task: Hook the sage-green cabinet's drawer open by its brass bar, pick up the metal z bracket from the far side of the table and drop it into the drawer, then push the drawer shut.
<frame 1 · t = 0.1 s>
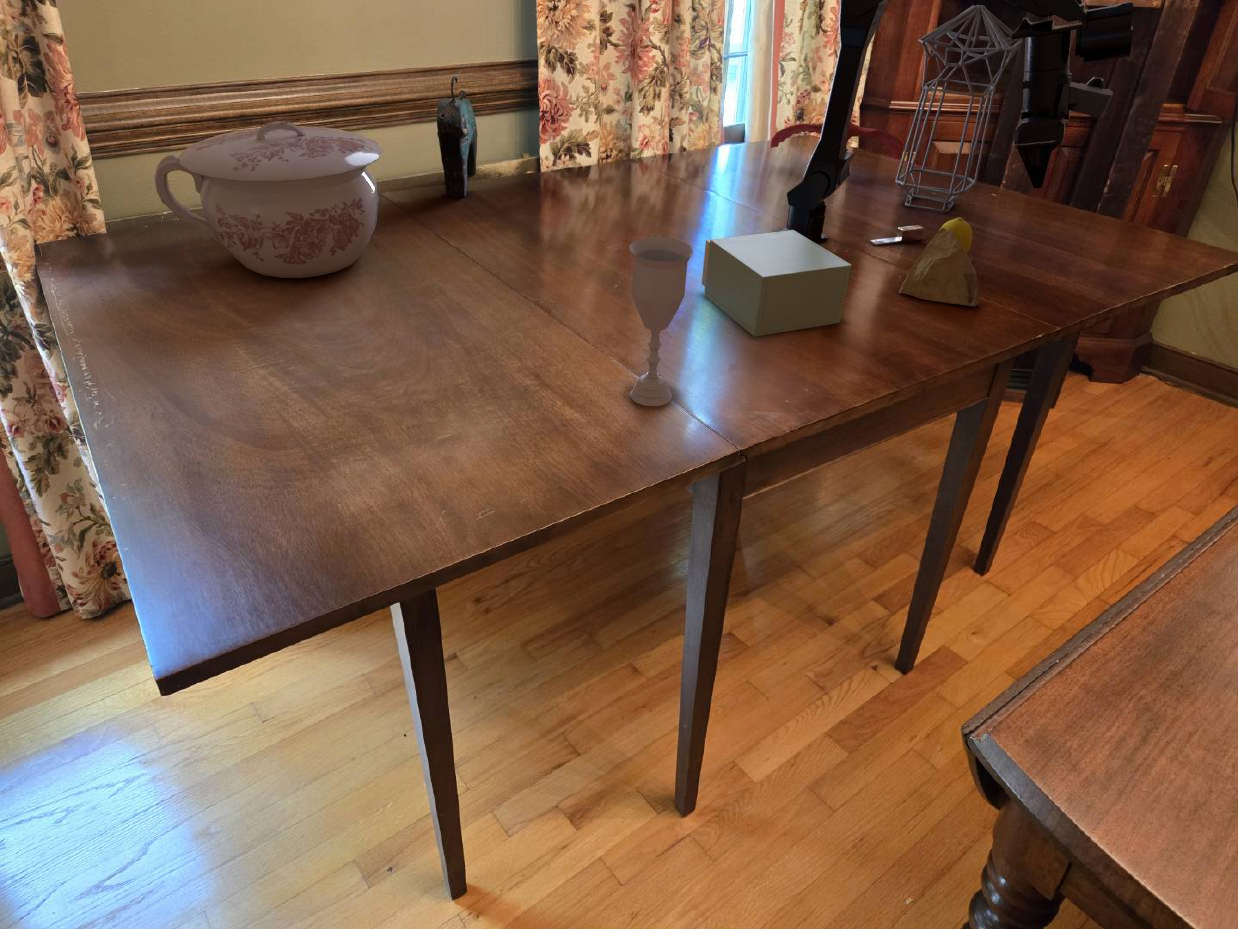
hand: (1040, 180, 125), 15 cm above the table, tool pointing down, fingers open, 9 cm apart
chamber pot: (303, 263, 128), on the table
geometric lantern: (928, 206, 164), on the table
rock: (939, 300, 125), on the table
metal z bracket: (895, 241, 146), on the table
decorative bird sculpture: (831, 167, 185), on the table
cabinet: (770, 308, 120), on the table
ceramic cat: (460, 185, 163), on the table
lemon: (946, 265, 137), on the table
chalice: (650, 396, 98), on the table
drawer: (756, 267, 121), point 4 cm above the table, slide at 1.0 cm
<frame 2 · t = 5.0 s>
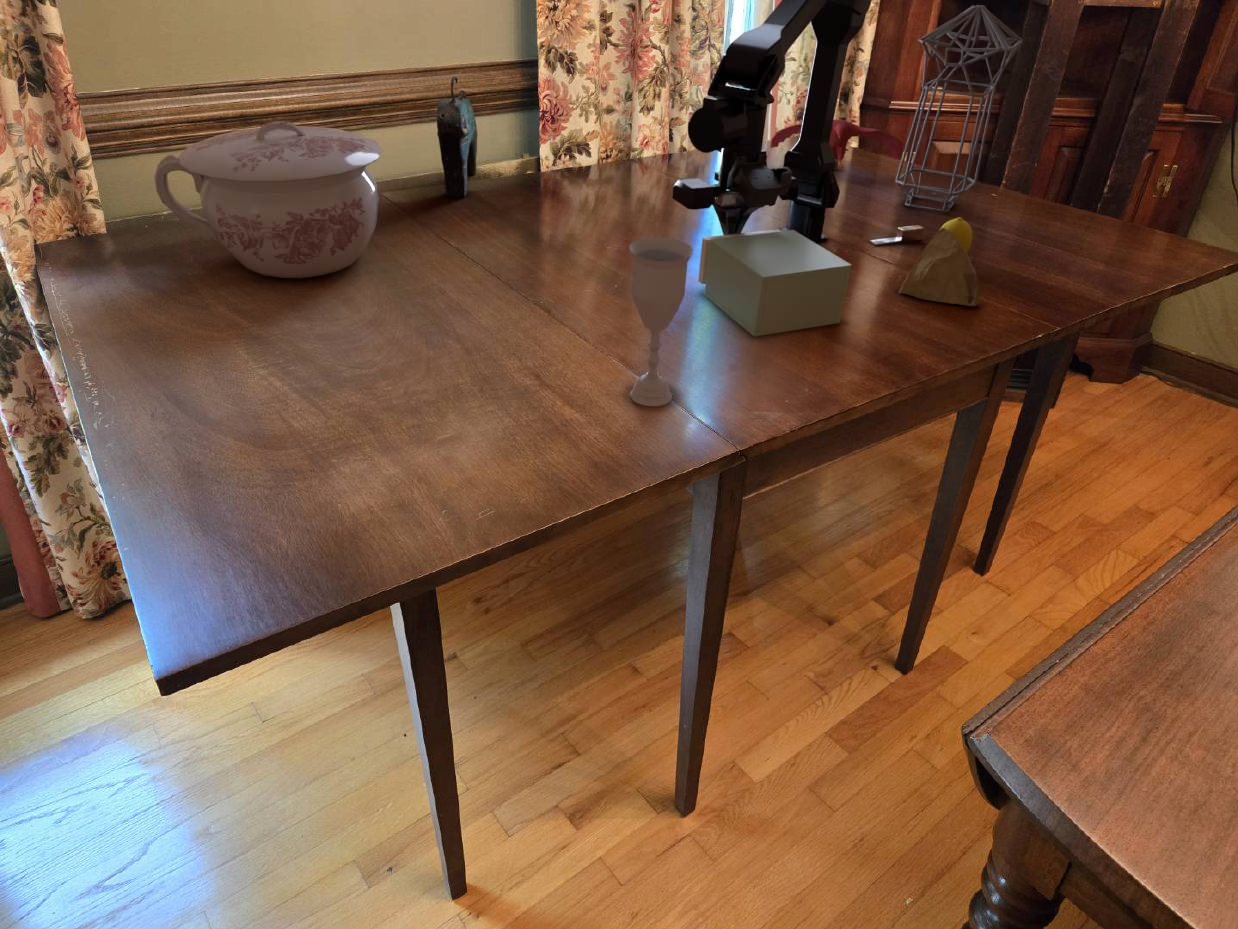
hand: (730, 245, 127), 5 cm above the table, tool pointing down, fingers closed, pressing on drawer
drawer: (752, 265, 122), point 4 cm above the table, slide at 2.1 cm, touching gripper
everything else where it was.
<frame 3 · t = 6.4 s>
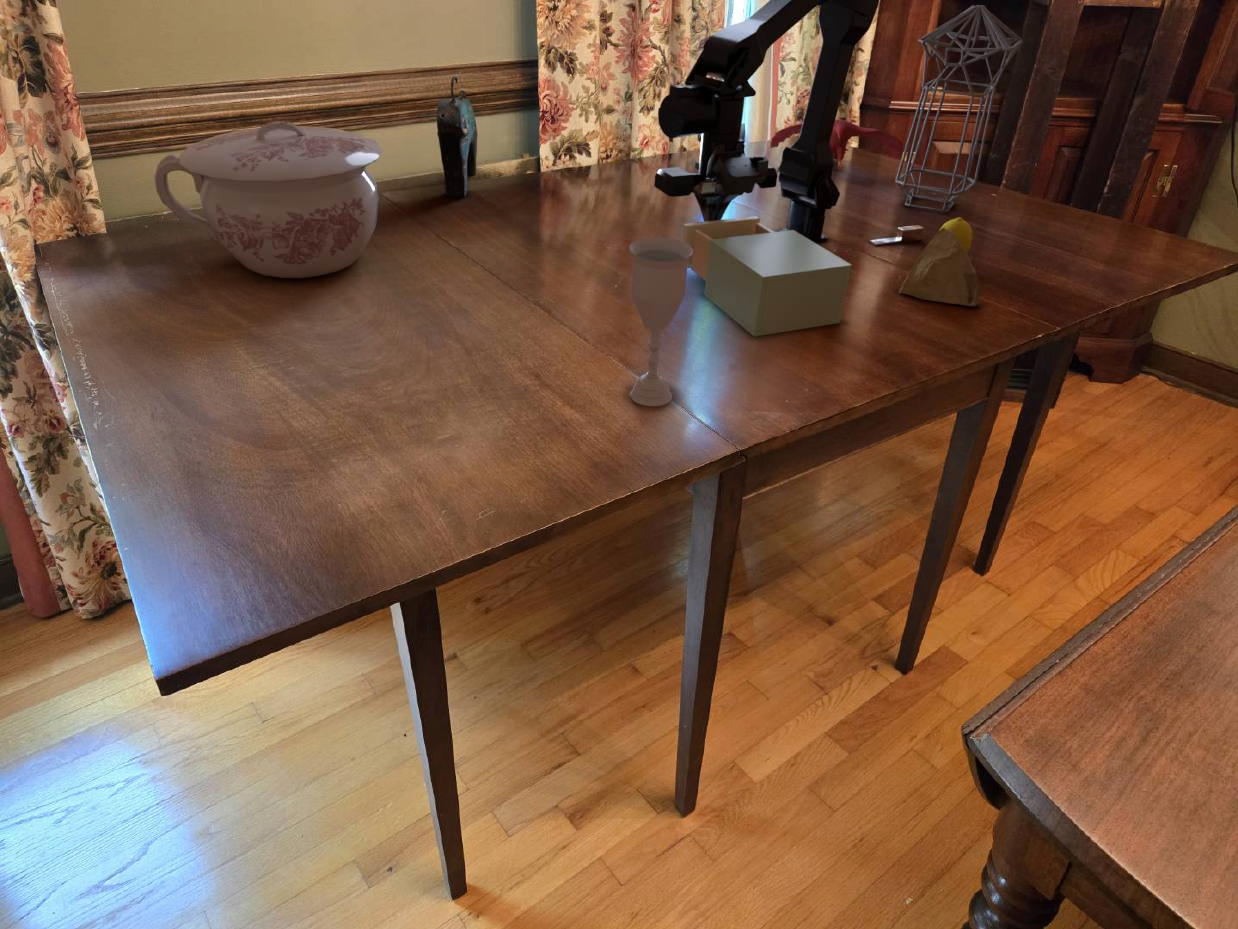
hand: (710, 232, 132), 5 cm above the table, tool pointing down, fingers closed, pressing on drawer
drawer: (731, 250, 127), point 4 cm above the table, slide at 8.3 cm, touching gripper
everything else where it was.
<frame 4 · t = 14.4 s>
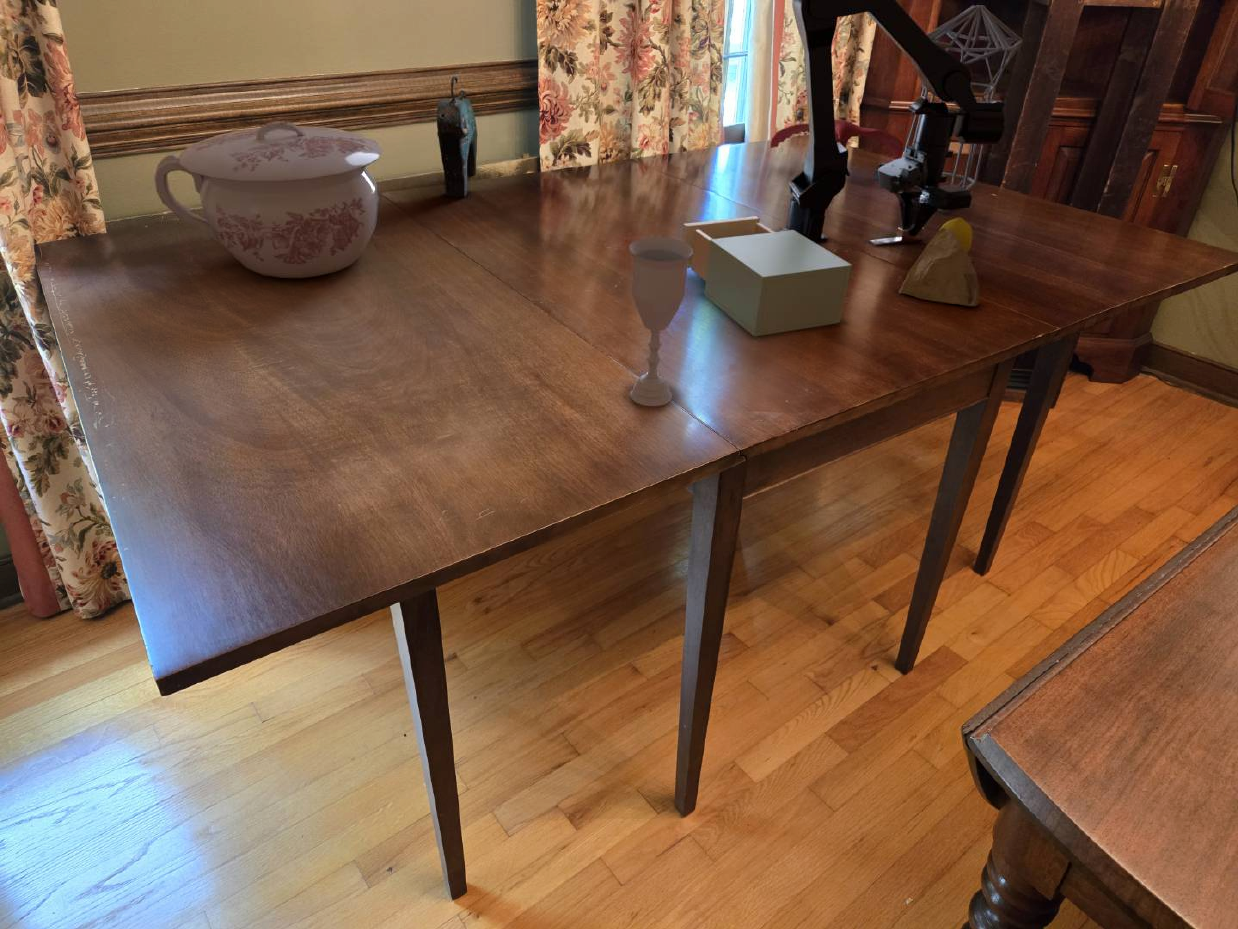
hand: (909, 233, 146), 1 cm above the table, tool pointing down, fingers closed on metal z bracket, 2 cm apart
metal z bracket: (895, 241, 146), on the table, touching gripper
drawer: (731, 250, 127), point 4 cm above the table, slide at 8.4 cm
everything else where it was.
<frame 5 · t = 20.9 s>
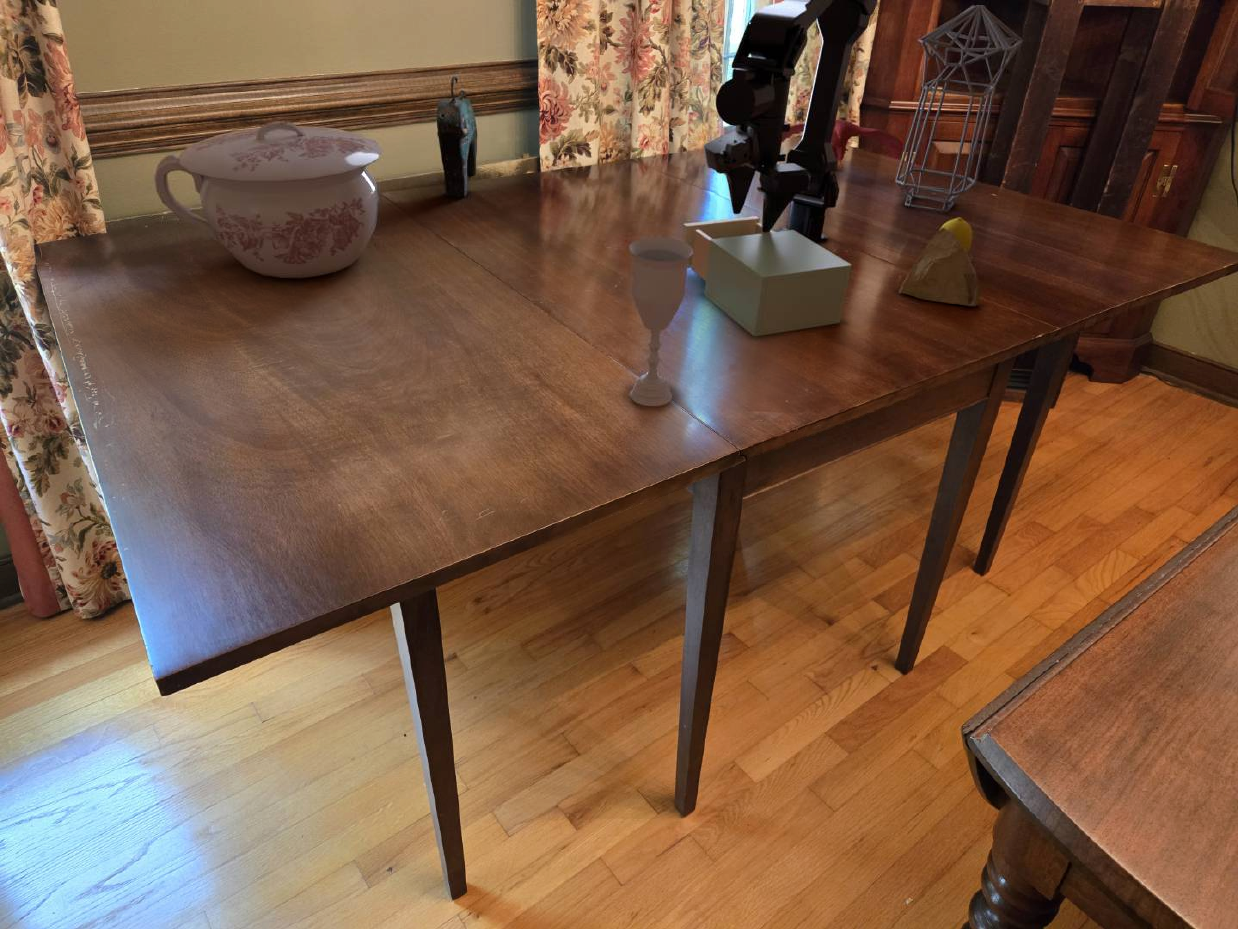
hand: (750, 222, 125), 8 cm above the table, tool pointing down, fingers open, 8 cm apart
metal z bracket: (731, 259, 127), point 3 cm above the table, tilted 10°, touching drawer
drawer: (731, 250, 127), point 4 cm above the table, slide at 8.4 cm, touching metal z bracket
everything else where it was.
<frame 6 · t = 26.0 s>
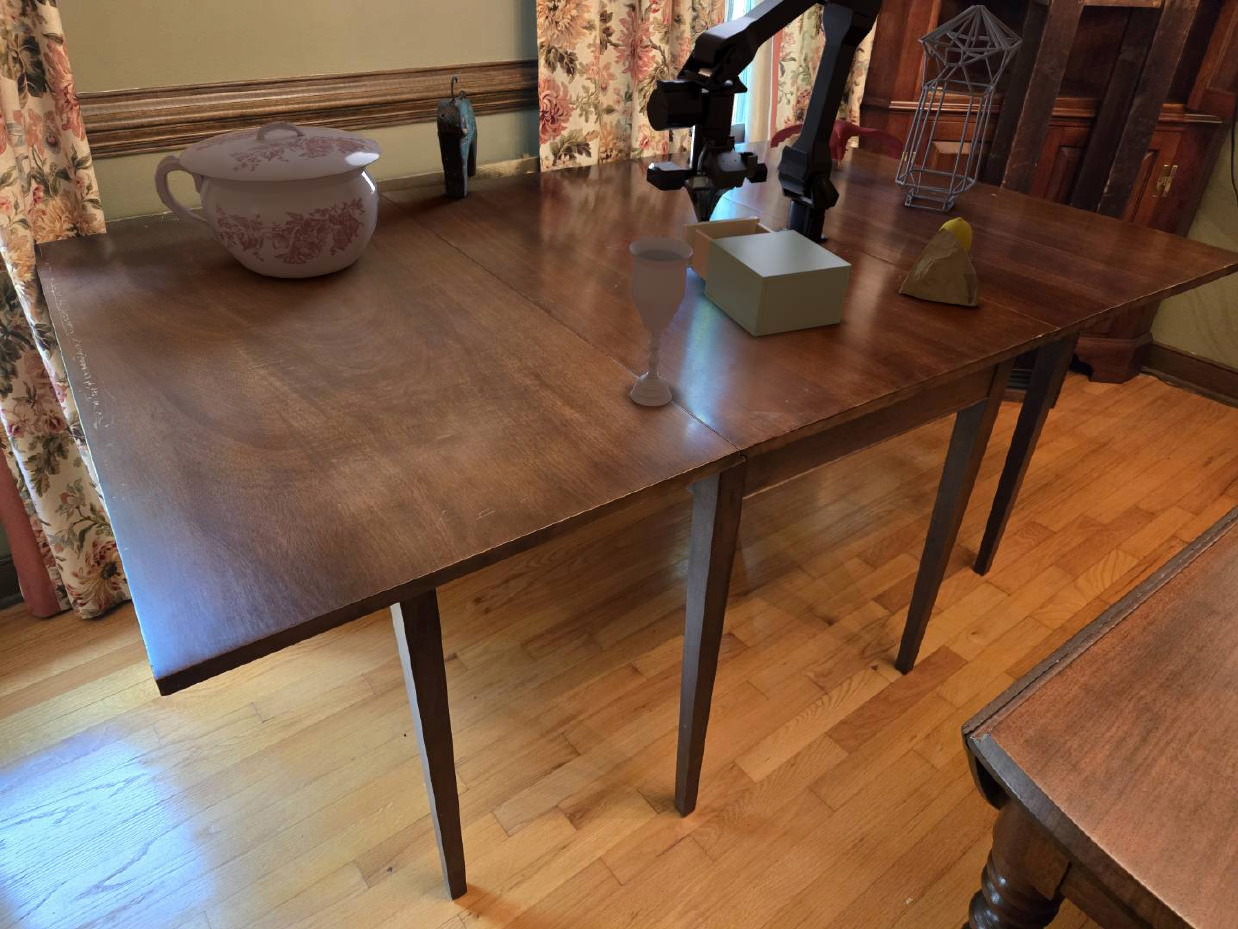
hand: (702, 226, 134), 5 cm above the table, tool pointing down, fingers closed, pressing on drawer
drawer: (731, 250, 127), point 4 cm above the table, slide at 8.3 cm, touching gripper, metal z bracket
everything else where it was.
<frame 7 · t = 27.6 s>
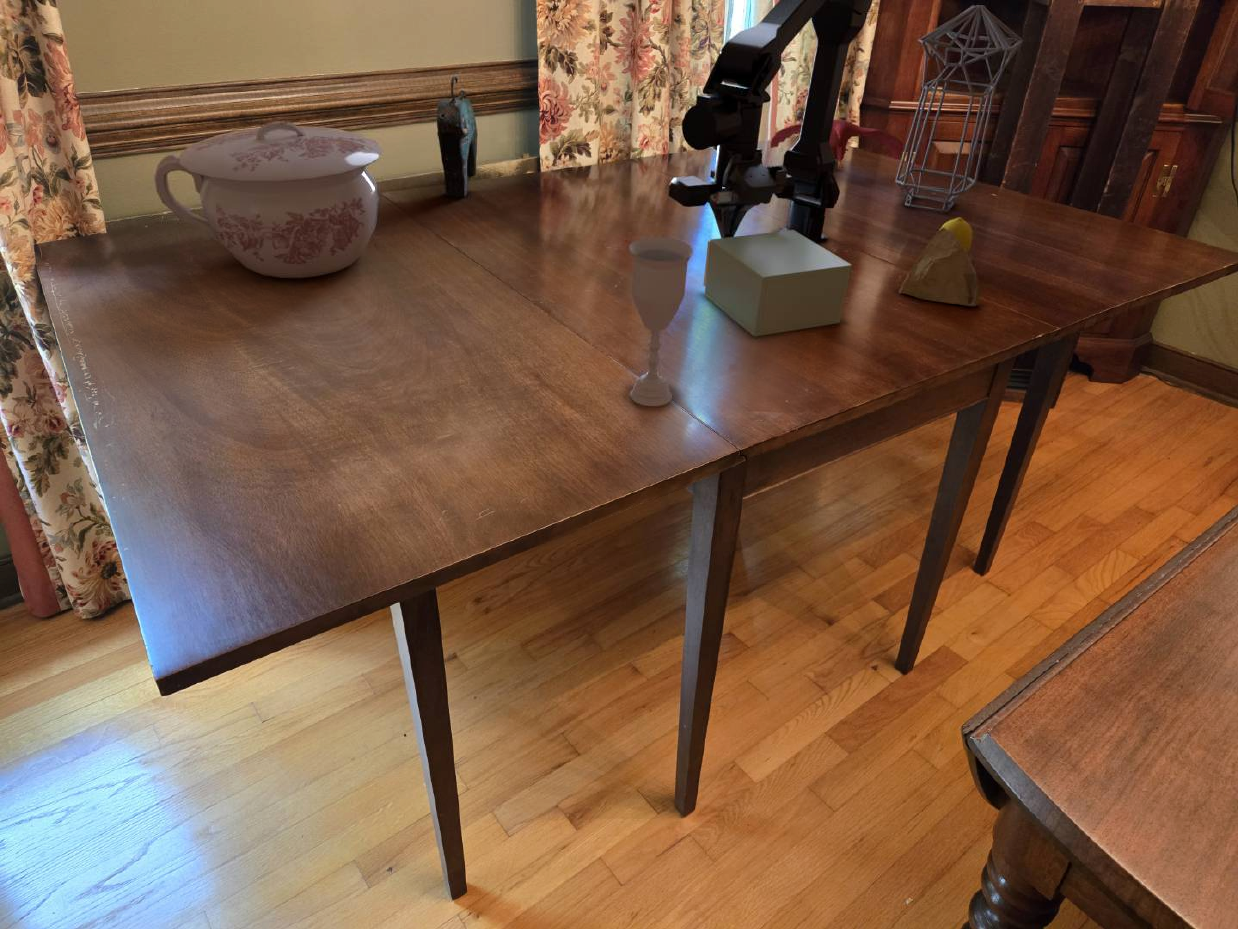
hand: (726, 243, 128), 5 cm above the table, tool pointing down, fingers closed, pressing on drawer
metal z bracket: (757, 279, 121), point 3 cm above the table, tilted 10°, touching drawer
drawer: (758, 269, 121), point 4 cm above the table, slide at 0.4 cm, touching gripper, metal z bracket
everything else where it was.
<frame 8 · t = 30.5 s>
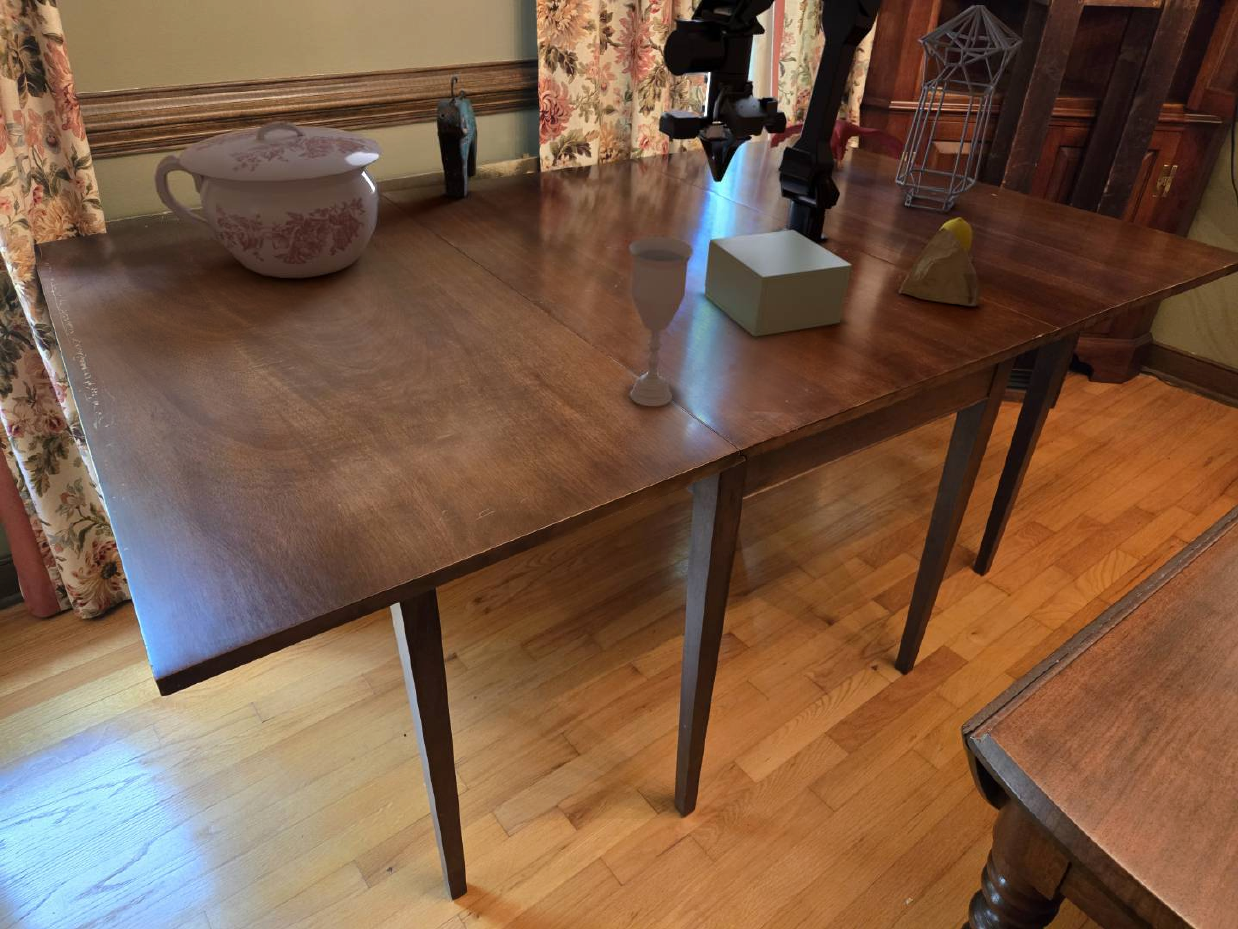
hand: (717, 181, 127), 13 cm above the table, tool pointing down, fingers closed
drawer: (759, 270, 120), point 4 cm above the table, slide at 0.0 cm, touching cabinet, metal z bracket
everything else where it was.
at the end: drawer pulled out 8.4 cm at the most during the clip, back to where it started at the end; metal z bracket inside the target area in the cabinet (3.9 cm from its centre), point 2.9 cm above the cabinet's base; drawer slide at 0.0 cm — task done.
